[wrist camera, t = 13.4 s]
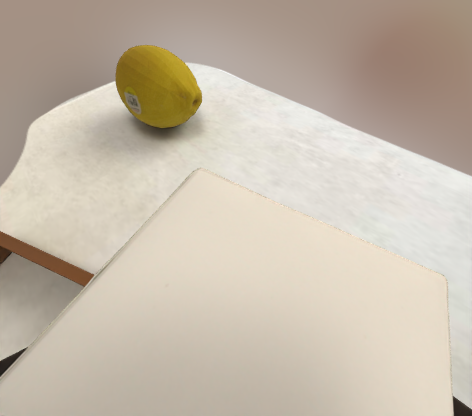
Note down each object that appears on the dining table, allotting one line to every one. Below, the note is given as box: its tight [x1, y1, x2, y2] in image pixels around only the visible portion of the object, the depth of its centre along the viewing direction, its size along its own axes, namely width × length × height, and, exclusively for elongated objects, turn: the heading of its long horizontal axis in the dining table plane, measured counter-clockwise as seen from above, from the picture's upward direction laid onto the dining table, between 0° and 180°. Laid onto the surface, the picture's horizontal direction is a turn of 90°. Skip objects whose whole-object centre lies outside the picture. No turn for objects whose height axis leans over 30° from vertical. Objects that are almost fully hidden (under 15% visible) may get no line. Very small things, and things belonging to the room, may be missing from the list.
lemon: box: [116, 45, 202, 128], centre depth 25 cm, size 11×8×8 cm
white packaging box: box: [0, 168, 454, 416], centre depth 9 cm, size 7×7×13 cm
